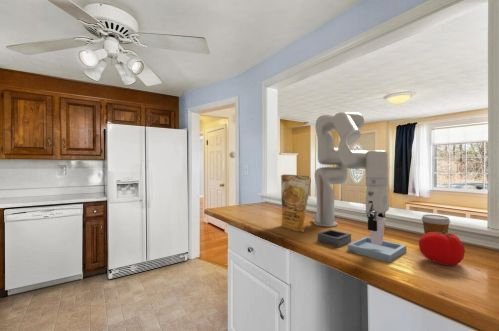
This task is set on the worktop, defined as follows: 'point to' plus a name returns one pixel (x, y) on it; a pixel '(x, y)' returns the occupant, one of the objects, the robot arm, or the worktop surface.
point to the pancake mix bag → (294, 201)
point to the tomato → (442, 248)
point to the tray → (377, 249)
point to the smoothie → (378, 231)
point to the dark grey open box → (334, 238)
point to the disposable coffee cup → (435, 223)
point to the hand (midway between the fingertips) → (376, 228)
